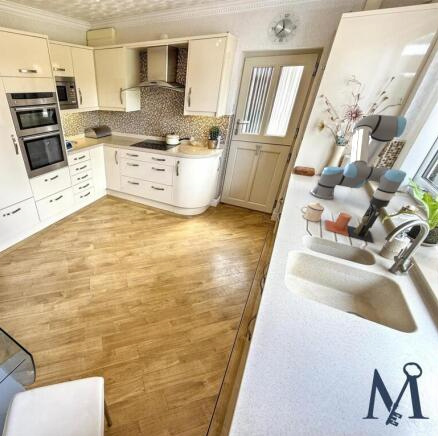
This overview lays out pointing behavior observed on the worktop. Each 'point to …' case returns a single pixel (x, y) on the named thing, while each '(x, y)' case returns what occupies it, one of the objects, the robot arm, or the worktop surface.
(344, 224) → the copper-orange cylinder
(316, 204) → the teacup with lid
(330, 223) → the terracotta mat
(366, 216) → the olive rounded bottle shape
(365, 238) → the charcoal mat
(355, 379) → the worktop surface
